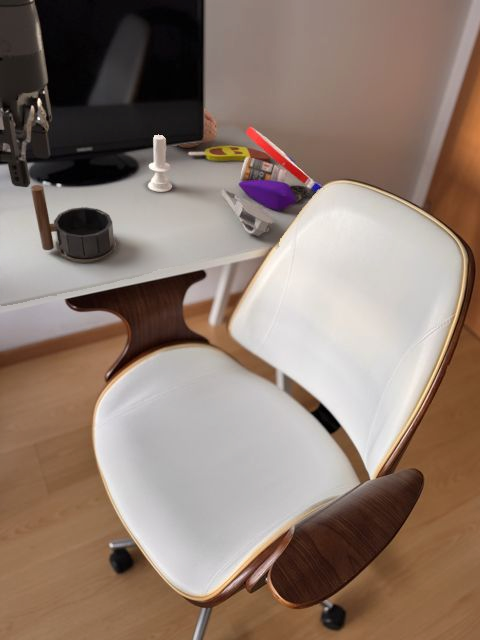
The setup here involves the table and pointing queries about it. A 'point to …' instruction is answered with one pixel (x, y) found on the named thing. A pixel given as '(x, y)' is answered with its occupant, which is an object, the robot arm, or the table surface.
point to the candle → (159, 166)
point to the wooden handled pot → (74, 228)
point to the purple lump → (269, 193)
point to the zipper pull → (249, 214)
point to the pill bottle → (261, 171)
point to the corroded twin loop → (299, 191)
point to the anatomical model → (205, 130)
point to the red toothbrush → (281, 158)
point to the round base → (86, 260)
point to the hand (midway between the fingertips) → (32, 170)
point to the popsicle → (232, 153)
